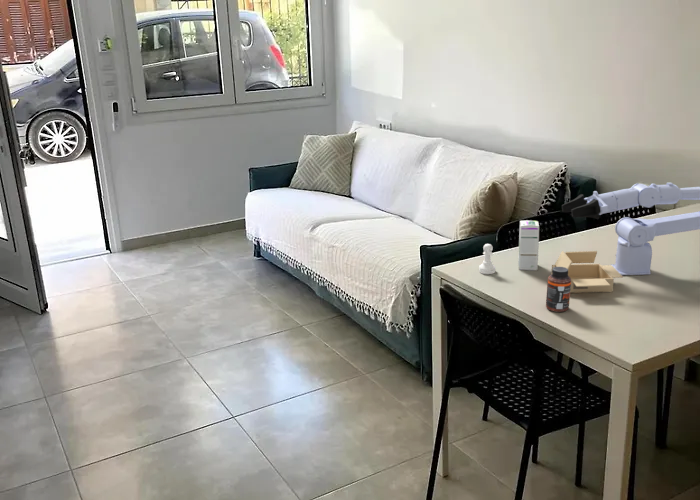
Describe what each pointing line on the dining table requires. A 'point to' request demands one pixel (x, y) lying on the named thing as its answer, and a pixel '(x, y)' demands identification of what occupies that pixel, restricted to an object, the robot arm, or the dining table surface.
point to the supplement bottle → (558, 290)
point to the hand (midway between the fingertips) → (567, 211)
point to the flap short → (582, 256)
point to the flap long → (563, 261)
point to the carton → (591, 277)
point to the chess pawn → (487, 261)
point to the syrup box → (528, 245)
